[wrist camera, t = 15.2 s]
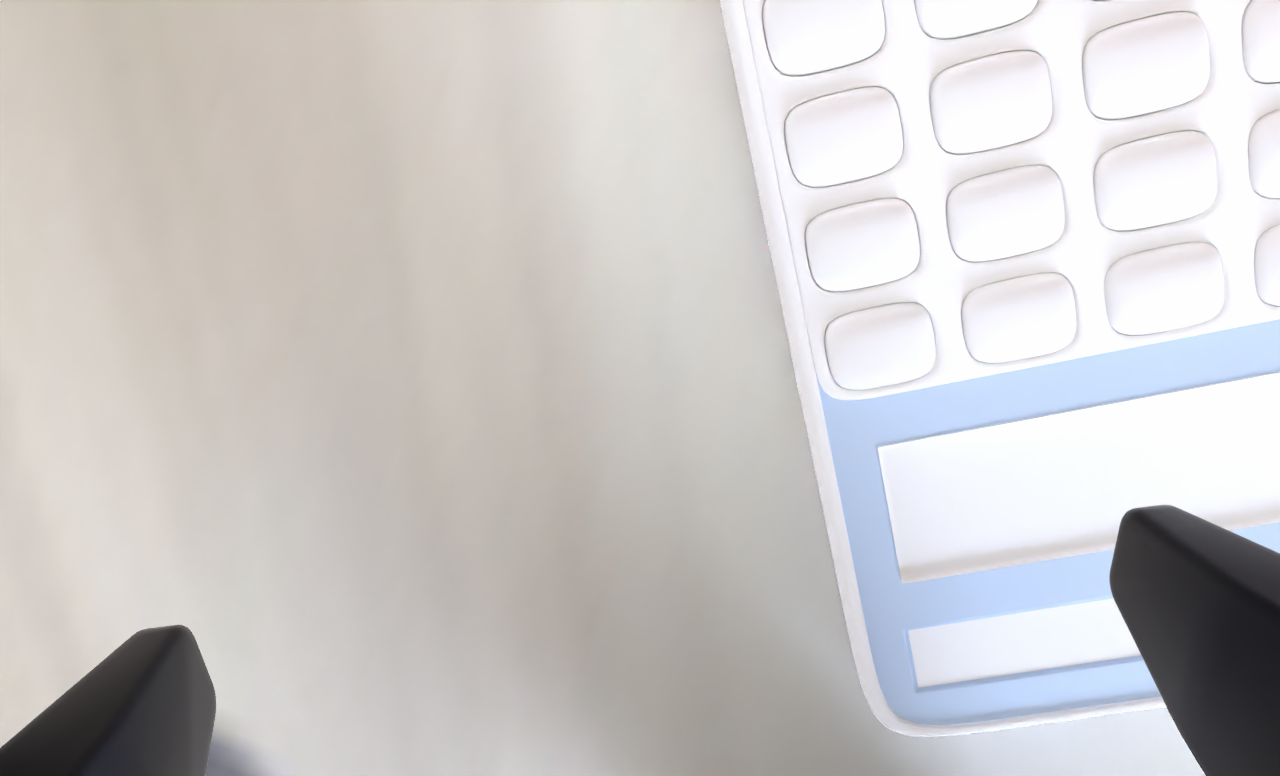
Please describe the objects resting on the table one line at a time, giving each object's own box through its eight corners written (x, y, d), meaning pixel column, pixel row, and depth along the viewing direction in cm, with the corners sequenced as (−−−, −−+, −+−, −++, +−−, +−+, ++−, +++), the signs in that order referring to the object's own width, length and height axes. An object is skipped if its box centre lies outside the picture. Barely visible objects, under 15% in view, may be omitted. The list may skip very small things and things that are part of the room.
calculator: (1531, -535, 15) (1644, -618, 13) (1502, 615, 20) (1576, 668, 19) (665, -266, 17) (657, -304, 15) (863, 708, 23) (874, 764, 21)
